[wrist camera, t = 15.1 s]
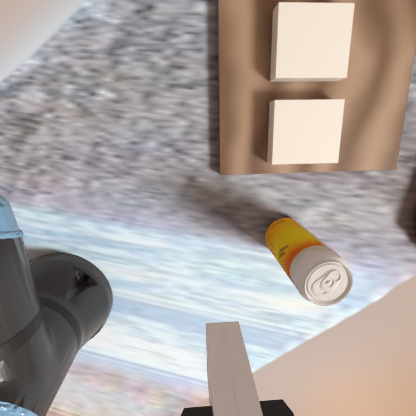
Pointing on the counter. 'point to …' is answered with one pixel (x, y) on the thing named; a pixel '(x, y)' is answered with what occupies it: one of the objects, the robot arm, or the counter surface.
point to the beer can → (309, 262)
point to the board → (315, 86)
